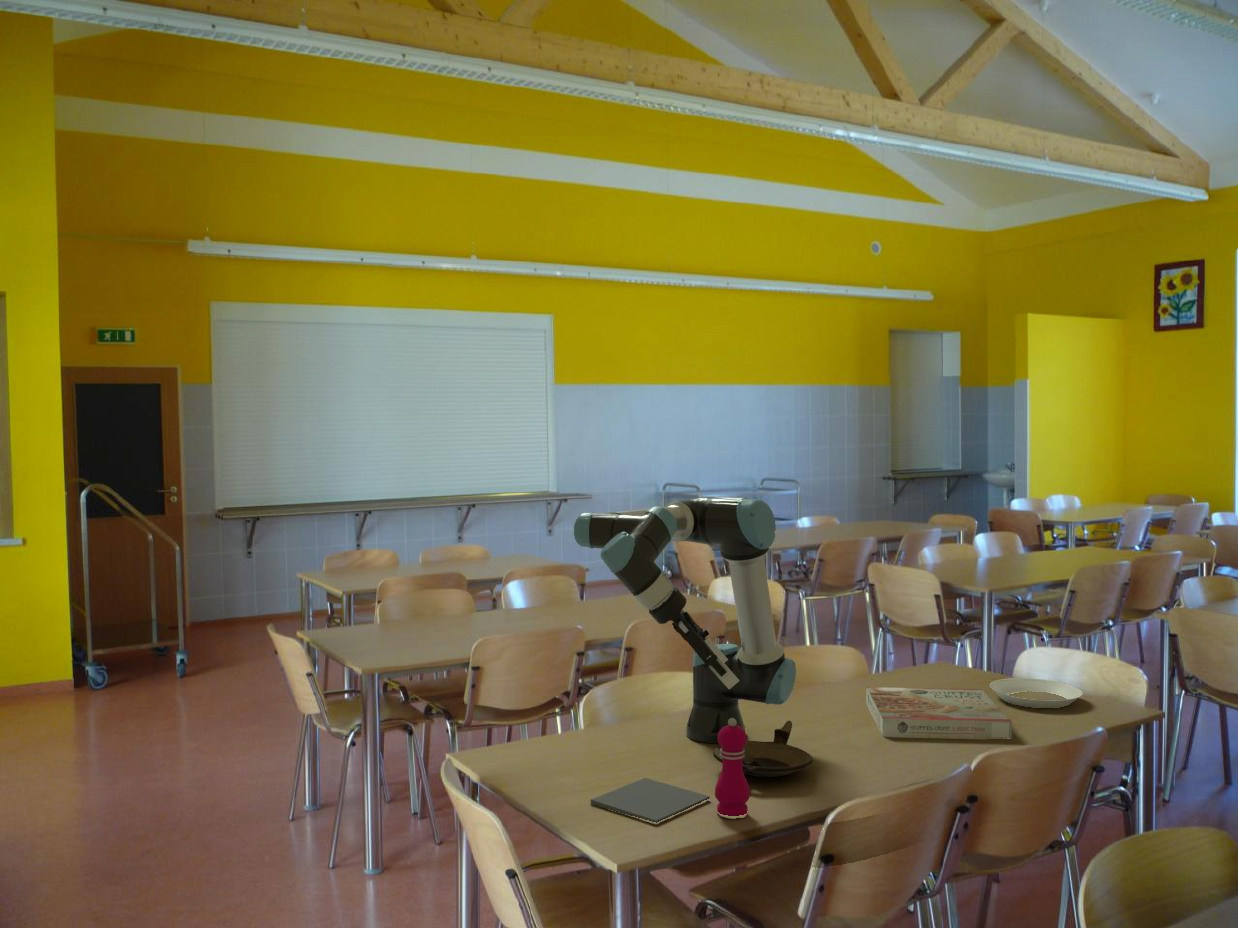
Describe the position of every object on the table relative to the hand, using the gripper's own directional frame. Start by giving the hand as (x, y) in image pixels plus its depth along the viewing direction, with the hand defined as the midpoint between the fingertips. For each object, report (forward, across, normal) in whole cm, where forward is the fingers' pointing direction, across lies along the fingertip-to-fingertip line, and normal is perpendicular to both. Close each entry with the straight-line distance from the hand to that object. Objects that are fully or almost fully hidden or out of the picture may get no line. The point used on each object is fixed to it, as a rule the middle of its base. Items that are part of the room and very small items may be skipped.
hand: (728, 673), depth 217 cm
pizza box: (+70, +60, -27) cm, 97 cm away
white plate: (+95, +78, -54) cm, 134 cm away
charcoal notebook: (+12, +6, +31) cm, 34 cm away
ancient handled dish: (+33, +24, +10) cm, 42 cm away
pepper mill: (+23, -2, +19) cm, 29 cm away
